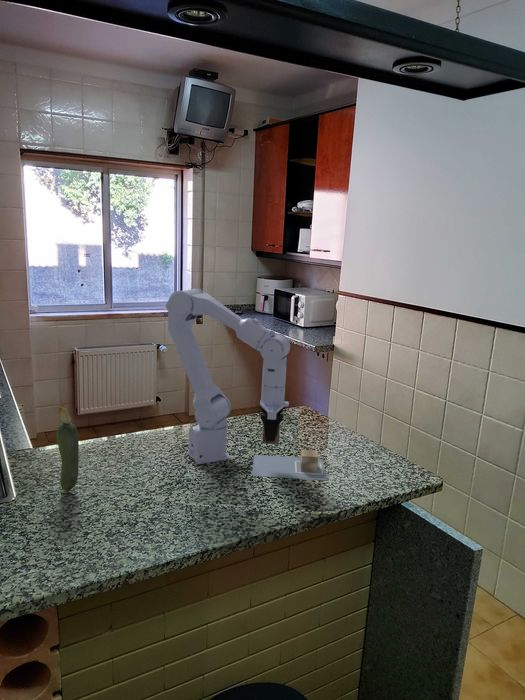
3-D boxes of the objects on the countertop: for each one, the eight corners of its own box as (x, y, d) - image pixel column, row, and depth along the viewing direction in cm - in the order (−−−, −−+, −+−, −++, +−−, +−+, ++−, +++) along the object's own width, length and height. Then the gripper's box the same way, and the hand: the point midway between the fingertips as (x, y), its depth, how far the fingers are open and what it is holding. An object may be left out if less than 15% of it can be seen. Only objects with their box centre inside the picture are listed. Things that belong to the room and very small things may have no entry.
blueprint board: (251, 477, 121) (251, 475, 121) (254, 456, 133) (254, 454, 133) (326, 482, 121) (326, 479, 121) (322, 461, 133) (322, 458, 133)
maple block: (300, 471, 125) (302, 456, 124) (300, 464, 129) (301, 449, 128) (317, 472, 125) (318, 457, 124) (315, 465, 129) (317, 450, 128)
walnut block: (262, 443, 124) (263, 427, 123) (262, 437, 128) (263, 422, 127) (278, 444, 124) (279, 428, 123) (278, 438, 128) (279, 423, 127)
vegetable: (81, 488, 112) (79, 402, 108) (78, 497, 108) (75, 409, 104) (60, 488, 112) (57, 402, 107) (56, 498, 107) (52, 409, 103)
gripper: (290, 394, 115) (287, 449, 118) (289, 377, 130) (286, 427, 132) (259, 392, 115) (256, 448, 118) (262, 376, 130) (259, 425, 133)
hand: (270, 437), depth 125 cm, fingers closed on walnut block, 4 cm apart
